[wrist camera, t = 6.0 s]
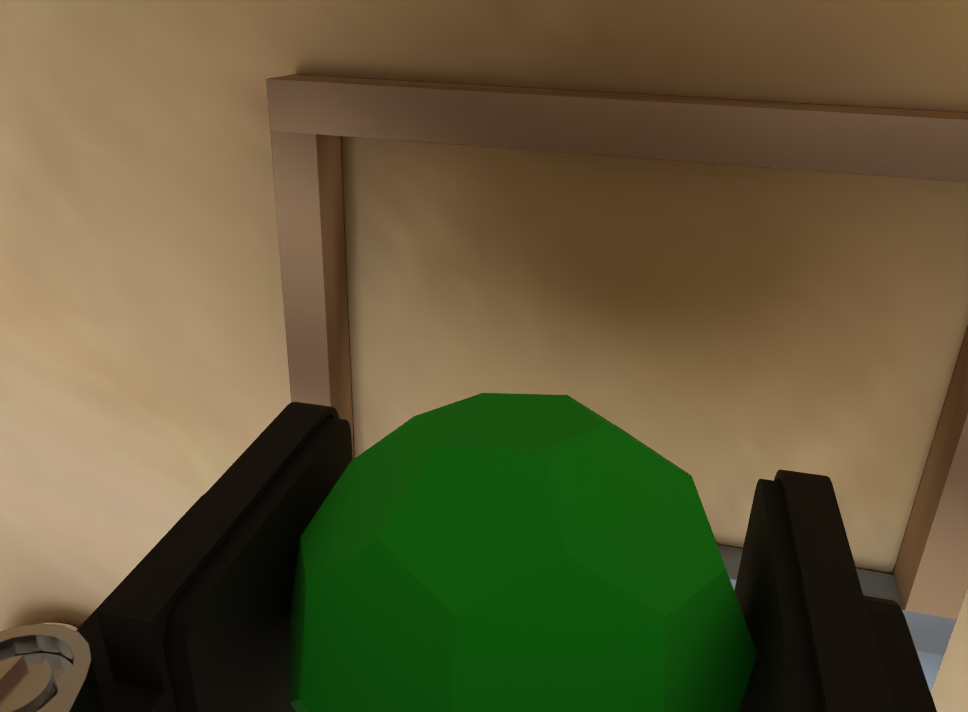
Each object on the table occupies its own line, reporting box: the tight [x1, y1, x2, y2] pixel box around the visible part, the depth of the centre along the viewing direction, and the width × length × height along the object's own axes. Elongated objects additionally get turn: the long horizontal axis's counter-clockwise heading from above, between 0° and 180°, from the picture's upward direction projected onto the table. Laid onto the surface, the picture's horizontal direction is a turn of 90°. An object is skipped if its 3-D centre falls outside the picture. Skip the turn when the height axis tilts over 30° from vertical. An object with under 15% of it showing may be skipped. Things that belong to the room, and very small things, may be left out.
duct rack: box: [266, 75, 968, 693], centre depth 19 cm, size 21×15×1 cm
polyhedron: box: [290, 393, 757, 712], centre depth 9 cm, size 5×5×5 cm
